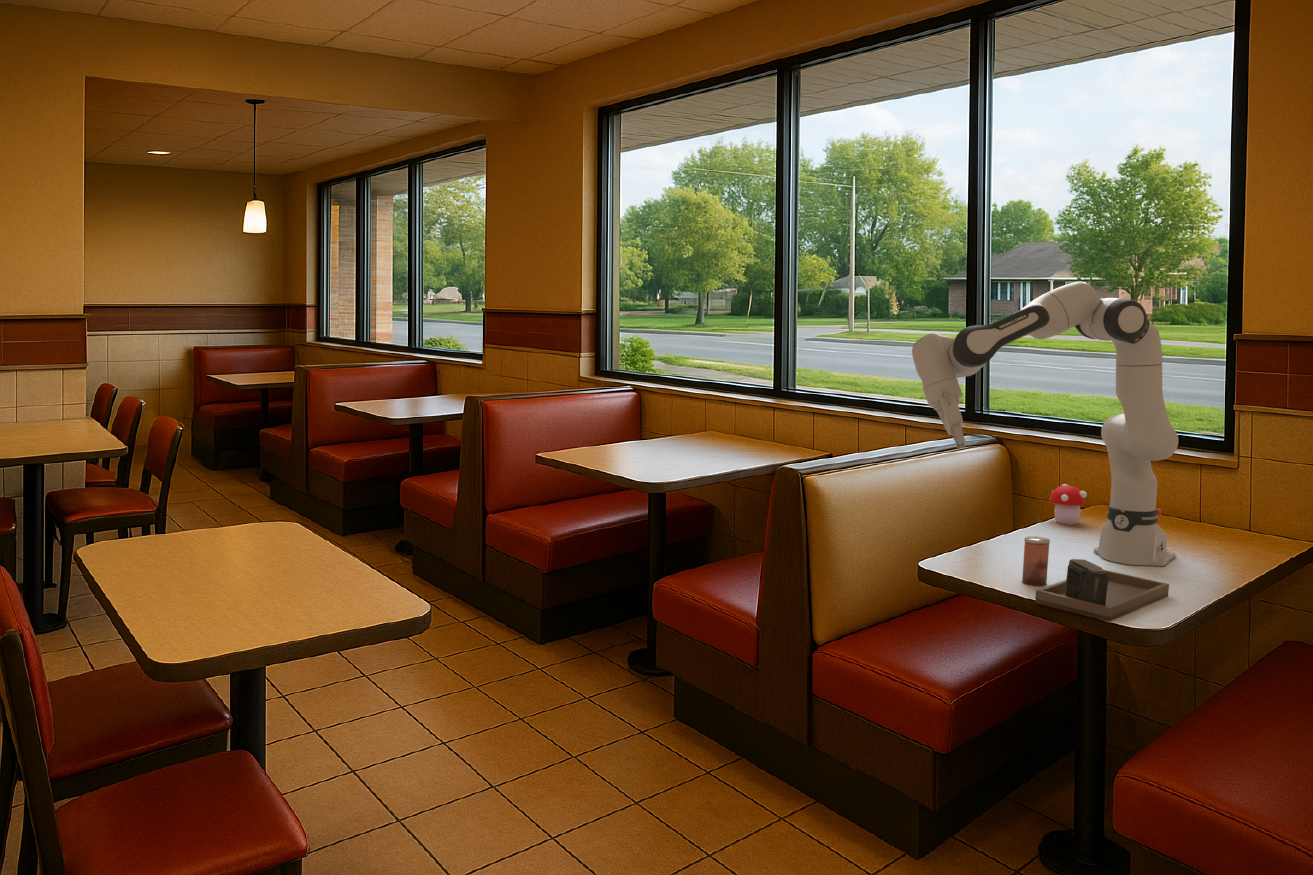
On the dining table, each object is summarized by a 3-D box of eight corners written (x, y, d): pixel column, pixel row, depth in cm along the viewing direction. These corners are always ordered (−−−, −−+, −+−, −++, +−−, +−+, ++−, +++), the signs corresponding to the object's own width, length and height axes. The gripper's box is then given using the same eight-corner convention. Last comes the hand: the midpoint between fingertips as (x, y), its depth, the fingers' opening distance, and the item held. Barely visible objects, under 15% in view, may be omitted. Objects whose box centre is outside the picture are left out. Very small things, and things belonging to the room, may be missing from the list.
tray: (1097, 580, 242) (1098, 568, 242) (1168, 596, 229) (1169, 583, 229) (1035, 602, 223) (1035, 590, 223) (1108, 621, 210) (1109, 608, 210)
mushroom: (1085, 527, 300) (1088, 489, 298) (1047, 524, 304) (1049, 486, 302) (1083, 520, 310) (1086, 483, 308) (1046, 517, 314) (1049, 480, 312)
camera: (1108, 614, 215) (1113, 570, 214) (1083, 614, 215) (1087, 570, 214) (1083, 599, 226) (1087, 557, 225) (1059, 599, 226) (1063, 557, 225)
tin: (1029, 578, 243) (1032, 535, 242) (1051, 583, 239) (1054, 539, 237) (1017, 582, 240) (1020, 538, 238) (1039, 587, 235) (1042, 543, 234)
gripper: (956, 383, 239) (975, 436, 236) (955, 397, 258) (973, 446, 256) (931, 391, 240) (949, 444, 238) (932, 405, 260) (949, 454, 257)
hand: (961, 445), depth 247 cm, fingers open, 8 cm apart
